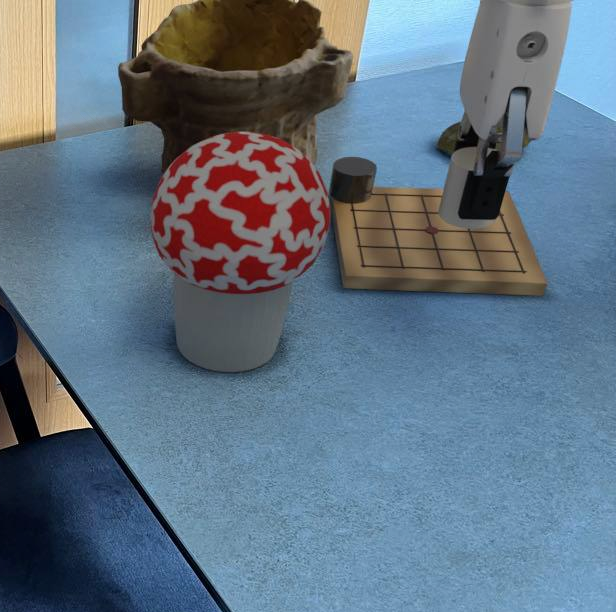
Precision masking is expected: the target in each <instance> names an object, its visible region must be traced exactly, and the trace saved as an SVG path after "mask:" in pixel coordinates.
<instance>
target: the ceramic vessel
mask: <svg viewBox="0 0 616 612" xmlns="http://www.w3.org/2000/svg"><path fill="white" fill-rule="evenodd" d="M322 13H323V11H322V10H320V8H319V7H318V6H316V5H315V4H313V3H312V2H311V1H309V0H298V1H294V0H196V1H193V2H192V3H183V4H179V5H176V6H174V7H173V8H172V9H171V10H170V13H169V14H168V16H167V17H164V18H163V20H162V21H161V23H159V25H158V27H157V29H156V30H154V32H152V33H151V35H149V36H148V37H147V38H145V40H144V41H143V42H142V44H141V47H140V49H141V50H140V51H139V52H138V53H137V56H135V57H133V58H131V59H128V60H127V61H123V62H119V65H118V67H117V76H118V79H119V83H120V87H121V108H122V112H123V114H124V115H125V116H127V118H131V119H132V120H134V121H137V122H150V123H152V124H153V125H154V126H155V127H157V128H158V129H160V131H161V134H162V137H163V145H162V152H161V153H162V154H161V169H160V170H161V171H160V172H161V174H162V175H163V174H164V173H165V172H166V170H167V169H168V168H169V166H170V165H171V164H172V163H173V162H174V160H175V159H177V158H178V157H179V156H180V155H181V154H182V153H183V152H185V151H186V150H187V149H189V148H190V147H192V146H193V145H195V144H197V143H199V142H201V141H203V140H205V139H207V138H210V137H212V136H216V135H220V134H225V133H232V132H256V133H261V134H265V135H269V136H273V137H276V138H279V139H281V140H283V141H285V142H287V143H289V144H290V145H292V146H293V147H295V148H296V149H298V150H299V151H300V152H302V153H303V154H304V155H305V156H306V157H307V158H308V159H309V160H310V161H311V163H312V164H313V165H314V166H315V165H316V163H317V158H318V147H319V146H318V141H317V140H318V139H317V122H318V114H320V113H323V112H325V111H327V110H330V109H333V108H335V107H336V106H337V105H339V104H340V103H341V102H342V101H343V100H344V99H345V97H346V96H345V95H346V92H347V85H348V80H349V78H350V73H351V70H352V65H353V60H354V54H353V52H352V51H351V50H348V49H342V48H339V47H338V46H336V45H334V44H331V42H330V40H329V39H328V38H326V32H325V29H324V27H323V26H321V19H322Z"/></svg>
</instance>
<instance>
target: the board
mask: <svg viewBox="0 0 616 612" xmlns="http://www.w3.org/2000/svg"><path fill="white" fill-rule="evenodd" d="M443 190H444V188H427V187H425V188H424V187H394V186H393V187H391V186H390V187H389V186H373V191H372V196H371V197H370V198H369V199H368V200H366V201H363V202H358V203H349V202H343V201H339V200H337V199H335V198H333V197H332V196H331V195H330V194H328V198H329V203H330V214H331V218H332V225H333V230H334V231H333V233H334V239H335V244H336V250H337V257H338V263H339V264H338V265H339V270H340V275H341V282H342V289H350V290H353V289H354V290H379V291H401V292H402V291H403V292H428V293H429V292H430V293H431V292H433V293H458V294H486V295H506V296H507V295H508V296H509V295H511V296H536V297H543V296H544V295H545V291H546V289H547V286H548V281H547V279H546V276H545V274H544V271H543V269H542V267H541V264H540V261H539V259H538V257H537V254H536V253H535V250H534V248H533V245H532V243H531V240H530V238H529V236H528V234H527V233H528V232H527V231H526V229H525V227H524V224H523V222H522V219H521V217H520V215H519V212H518V210H517V207H516V205H515V203H514V200H513V198H512V196H511V193H510V191H509V190H506V191H505V195H504V198H503V202H502V205H501V209H500V212H499V216H498V217H497V218H496V221H495V222H494V223H493V224H492V225H490V226H488V227H484V228H477V229H469V228H461V227H457V226H454V225H451V224H449V223H447V222H445V221H444V220H443V219H441V217H440V216H439V213H438V210H439V206H440V202H441V198H442V194H443Z"/></svg>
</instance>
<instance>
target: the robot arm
mask: <svg viewBox="0 0 616 612" xmlns="http://www.w3.org/2000/svg"><path fill="white" fill-rule="evenodd" d="M572 2H574V0H479V5H478V9H477V11H476V12H477V13H476V16H475V20H474V23H473V27H472V30H471V34H470V38H469V41H468V44H467V45H468V46H467V49H466V54H465V58H464V62H463V67H462V72H461V77H460V84H459V97H460V102H461V103H462V105H463V109H464V112H463V114H462V118H461V121H460V122H461V123H460V126H459V131H458V138H459V139H464V141H462V140H456V144H455V148H454V152H455V151H457V150H459V149H462V148H466V147H477V152H476V158H475V163H474V169H473V170H469V171H468V175H467V178H466V182H465V186H464V190H463V194H462V198H461V202H460V206H459V210H458V215H459V218H460V219H471V220H494V219H496V218H497V217H498V216H499V212H500V209H501V205H502V202H503V198H504V195H505V191H507V188H508V184H509V180H510V177H512V173H513V169H514V165H515V164H516V163H517V162H518V161H520V160H521V157H522V153H523V151H522V144H523V132H524V130H525V132H526V134H527V136H528V138H529V139H530V140H532V141H531V142H534V141H538V140H539V139H541V137H542V136H543V134H544V133H545V129H546V125H547V122H548V118H549V114H550V110H551V106H552V103H553V99H554V95H555V90H556V87H557V84H558V78H559V75H560V71H561V66H562V63H563V57H564V53H565V49H566V44H567V39H568V33H569V28H570V21H571V15H572V6H573V5H572ZM498 126H503V131H502V133H495V132H496V129H497V127H498ZM496 143H501V145H500V147H499V148H498V150H492V151H491V152H490V154H489V155H488V156H487V151H488V148H491V149H495V146H496ZM454 152H453V153H454Z"/></svg>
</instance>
